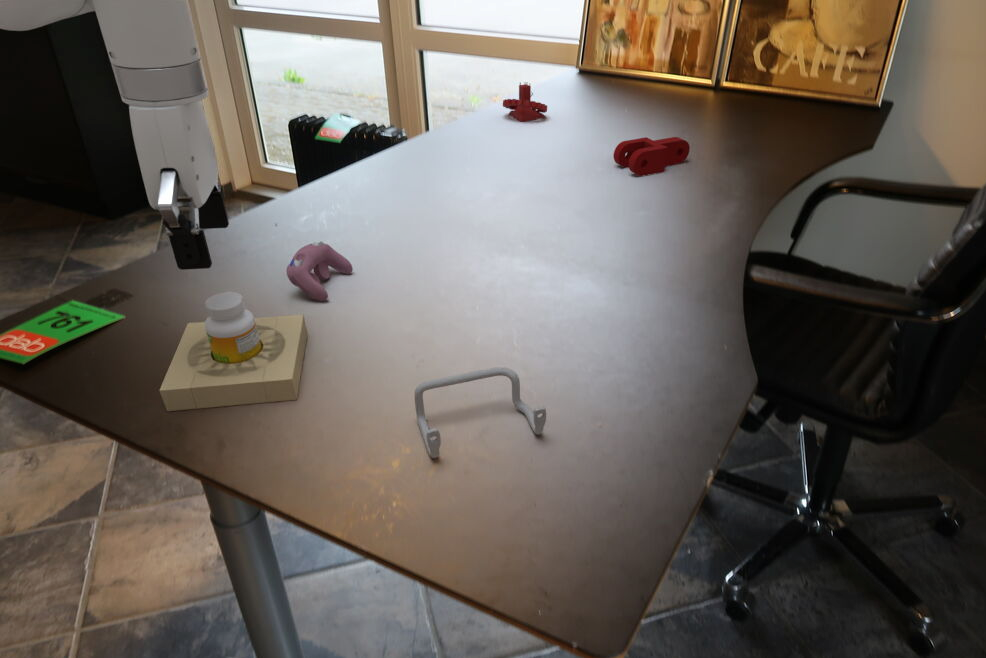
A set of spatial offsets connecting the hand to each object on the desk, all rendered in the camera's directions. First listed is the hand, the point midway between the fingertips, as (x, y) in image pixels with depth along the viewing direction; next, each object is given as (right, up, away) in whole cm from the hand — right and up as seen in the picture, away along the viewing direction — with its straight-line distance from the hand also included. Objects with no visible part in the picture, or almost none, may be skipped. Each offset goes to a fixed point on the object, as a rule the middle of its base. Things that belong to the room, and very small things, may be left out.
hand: (205, 246), depth 76 cm
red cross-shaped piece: (+33, +47, +97) cm, 113 cm away
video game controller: (+4, -2, +27) cm, 27 cm away
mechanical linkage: (+60, +28, +71) cm, 97 cm away
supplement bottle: (0, -14, +10) cm, 17 cm away
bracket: (+29, -20, +1) cm, 36 cm away
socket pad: (0, -13, +10) cm, 16 cm away
